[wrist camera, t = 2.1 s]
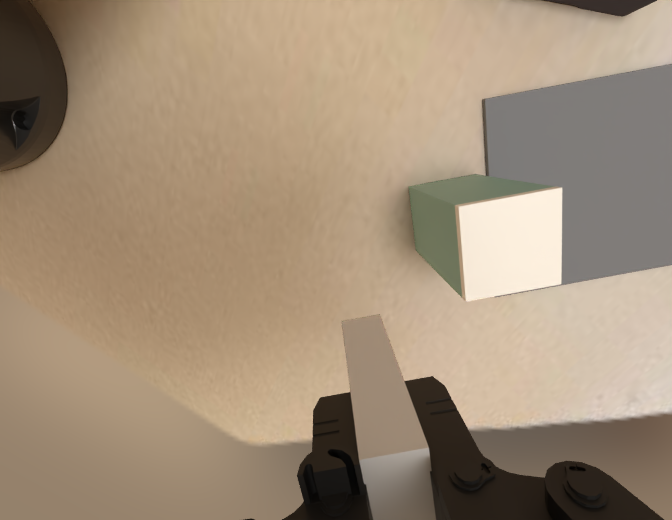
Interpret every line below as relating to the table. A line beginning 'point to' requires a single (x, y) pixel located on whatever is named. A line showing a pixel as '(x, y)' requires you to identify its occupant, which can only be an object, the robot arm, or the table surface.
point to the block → (489, 234)
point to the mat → (594, 165)
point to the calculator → (608, 5)
